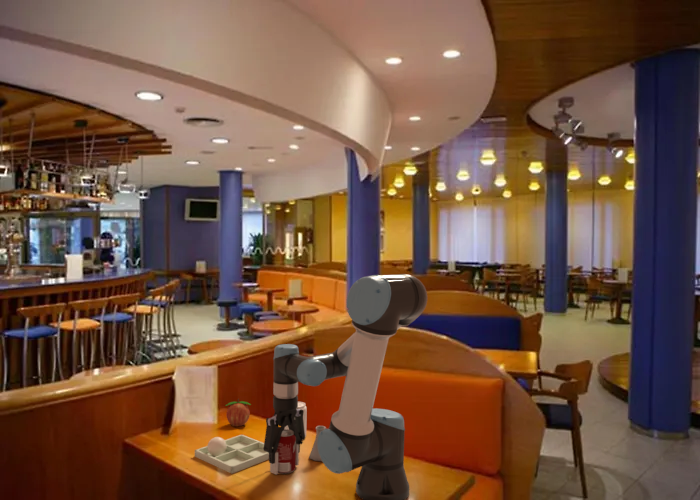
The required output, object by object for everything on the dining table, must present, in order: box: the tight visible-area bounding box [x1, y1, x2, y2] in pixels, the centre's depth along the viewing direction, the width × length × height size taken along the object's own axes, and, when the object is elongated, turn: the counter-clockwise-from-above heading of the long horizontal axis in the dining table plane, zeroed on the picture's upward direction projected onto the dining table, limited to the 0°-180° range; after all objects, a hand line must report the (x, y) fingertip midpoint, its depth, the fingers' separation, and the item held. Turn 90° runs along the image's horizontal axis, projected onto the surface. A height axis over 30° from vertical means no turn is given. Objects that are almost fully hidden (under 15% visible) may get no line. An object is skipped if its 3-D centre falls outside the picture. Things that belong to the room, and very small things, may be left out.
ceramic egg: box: [206, 436, 226, 457], centre depth 179 cm, size 6×6×6 cm
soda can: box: [276, 429, 297, 475], centre depth 171 cm, size 7×7×12 cm
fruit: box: [225, 398, 252, 427], centre depth 211 cm, size 9×10×10 cm
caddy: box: [194, 434, 269, 475], centre depth 179 cm, size 19×19×3 cm
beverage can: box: [284, 401, 308, 438], centre depth 199 cm, size 8×8×12 cm
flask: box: [308, 425, 327, 462], centre depth 181 cm, size 7×7×10 cm
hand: (284, 468), depth 171 cm, fingers open, 8 cm apart
